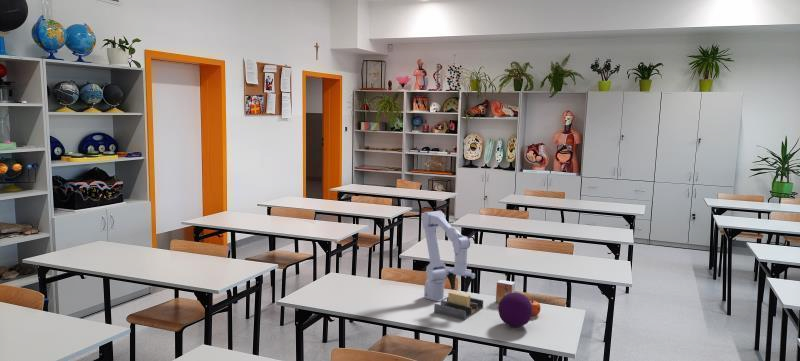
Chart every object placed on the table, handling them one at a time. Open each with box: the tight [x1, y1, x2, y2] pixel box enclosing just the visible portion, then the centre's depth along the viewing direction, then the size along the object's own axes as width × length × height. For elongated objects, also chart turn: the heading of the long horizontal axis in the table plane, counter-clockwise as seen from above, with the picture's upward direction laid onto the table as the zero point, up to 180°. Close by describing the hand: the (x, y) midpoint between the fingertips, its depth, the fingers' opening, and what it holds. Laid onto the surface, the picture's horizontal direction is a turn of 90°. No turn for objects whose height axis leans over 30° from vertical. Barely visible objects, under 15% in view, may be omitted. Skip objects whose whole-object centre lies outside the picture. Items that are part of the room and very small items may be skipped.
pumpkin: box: [530, 299, 542, 317], centre depth 269 cm, size 8×8×7 cm
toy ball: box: [497, 291, 533, 328], centre depth 254 cm, size 15×15×15 cm
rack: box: [433, 296, 484, 321], centre depth 272 cm, size 16×19×4 cm
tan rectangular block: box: [447, 290, 471, 307], centre depth 272 cm, size 10×3×7 cm, turn 56°
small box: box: [495, 279, 516, 304], centre depth 285 cm, size 8×6×10 cm
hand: (459, 290), depth 271 cm, fingers open, 6 cm apart
